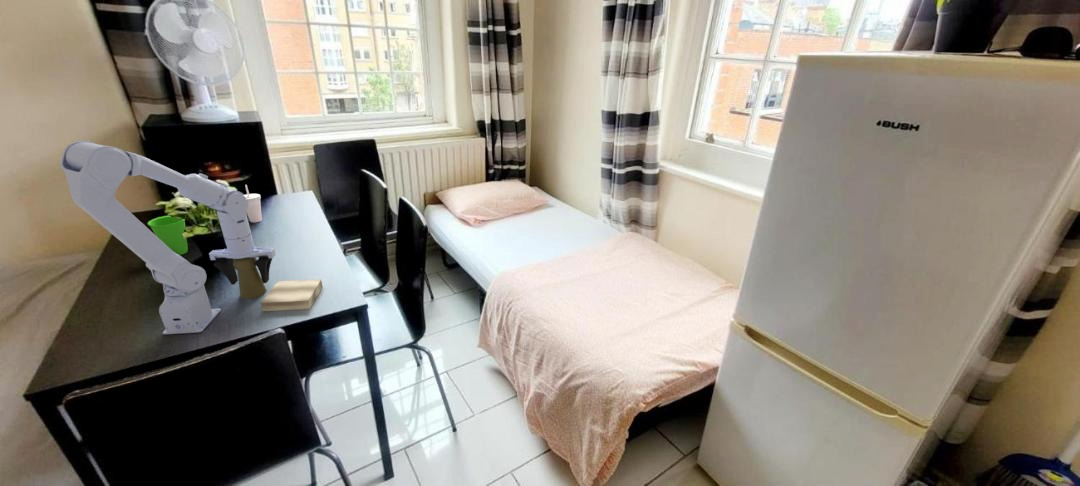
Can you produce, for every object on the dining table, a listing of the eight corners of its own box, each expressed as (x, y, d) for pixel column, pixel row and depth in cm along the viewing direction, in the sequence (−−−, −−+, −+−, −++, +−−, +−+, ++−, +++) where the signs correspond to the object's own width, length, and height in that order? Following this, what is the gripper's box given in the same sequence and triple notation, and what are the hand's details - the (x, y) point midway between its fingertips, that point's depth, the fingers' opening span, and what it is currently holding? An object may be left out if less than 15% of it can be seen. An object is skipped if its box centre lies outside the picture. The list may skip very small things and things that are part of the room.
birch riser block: (310, 308, 110) (308, 300, 109) (263, 311, 108) (260, 302, 107) (322, 287, 119) (321, 279, 118) (279, 289, 118) (277, 281, 117)
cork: (254, 300, 112) (244, 263, 108) (234, 297, 113) (223, 260, 109) (271, 289, 118) (262, 253, 113) (252, 286, 119) (243, 250, 114)
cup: (158, 251, 135) (147, 218, 131) (194, 244, 141) (184, 213, 136) (159, 261, 129) (147, 228, 125) (196, 254, 135) (186, 221, 130)
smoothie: (241, 222, 159) (232, 186, 153) (257, 216, 165) (248, 181, 159) (255, 224, 158) (246, 188, 152) (270, 219, 163) (261, 183, 157)
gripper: (275, 228, 113) (285, 273, 119) (214, 229, 111) (227, 276, 116) (264, 239, 107) (275, 286, 112) (199, 240, 104) (214, 289, 110)
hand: (250, 282), depth 114 cm, fingers open, 7 cm apart
